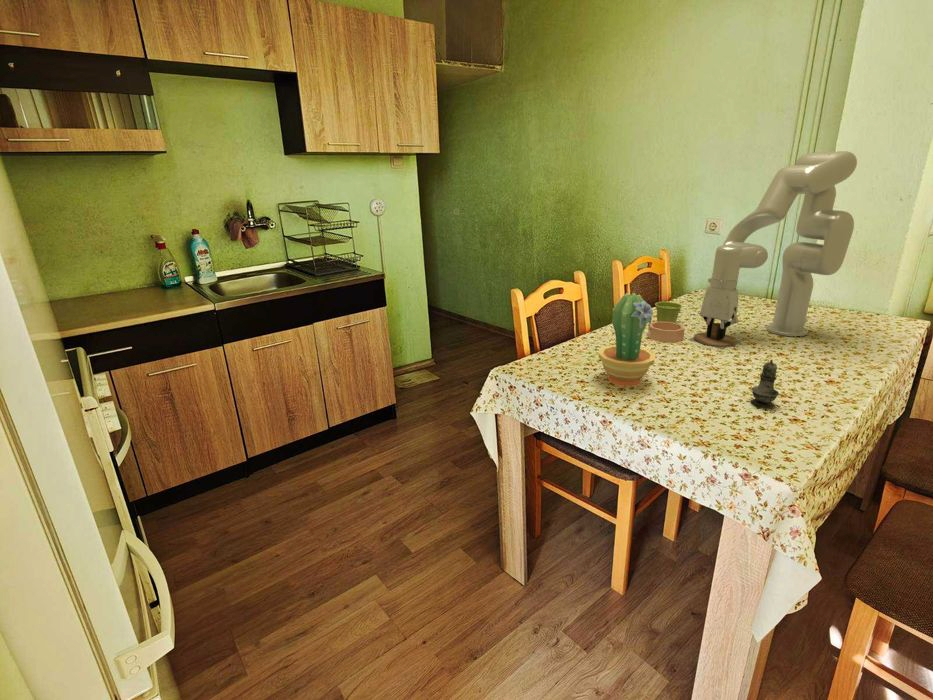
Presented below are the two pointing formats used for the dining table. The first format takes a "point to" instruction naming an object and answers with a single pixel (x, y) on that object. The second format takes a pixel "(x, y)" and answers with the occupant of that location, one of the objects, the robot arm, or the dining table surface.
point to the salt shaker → (766, 387)
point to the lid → (714, 338)
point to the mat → (714, 346)
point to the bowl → (666, 332)
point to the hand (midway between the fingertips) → (715, 337)
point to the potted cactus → (628, 342)
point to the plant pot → (667, 311)
